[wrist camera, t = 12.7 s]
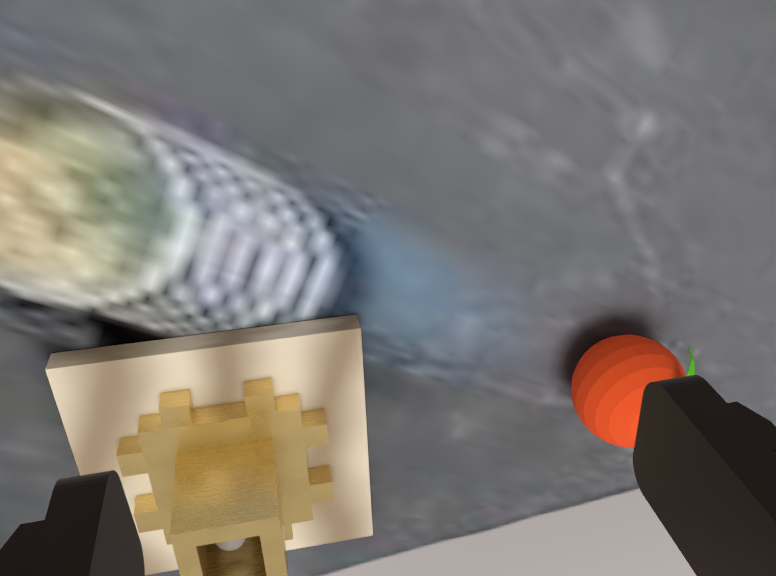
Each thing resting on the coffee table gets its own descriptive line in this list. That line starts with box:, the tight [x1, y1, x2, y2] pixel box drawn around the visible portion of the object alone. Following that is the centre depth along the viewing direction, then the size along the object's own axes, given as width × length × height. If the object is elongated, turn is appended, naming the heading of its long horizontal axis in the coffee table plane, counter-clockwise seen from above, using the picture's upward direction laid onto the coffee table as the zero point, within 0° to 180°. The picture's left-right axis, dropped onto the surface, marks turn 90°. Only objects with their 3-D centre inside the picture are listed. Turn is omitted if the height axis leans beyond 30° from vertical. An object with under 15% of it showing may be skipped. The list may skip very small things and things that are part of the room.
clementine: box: [571, 334, 695, 448], centre depth 45 cm, size 8×7×7 cm
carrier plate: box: [45, 314, 373, 575], centre depth 42 cm, size 17×17×8 cm
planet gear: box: [116, 377, 334, 576], centre depth 41 cm, size 12×12×8 cm
